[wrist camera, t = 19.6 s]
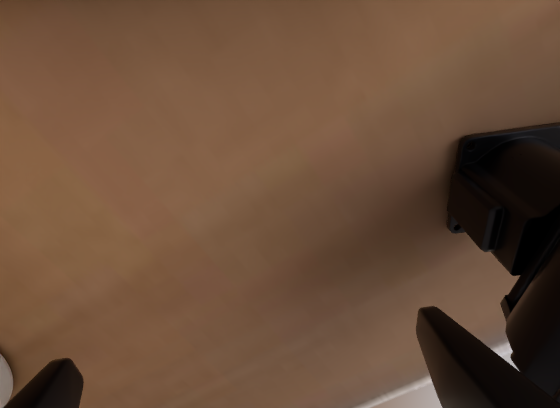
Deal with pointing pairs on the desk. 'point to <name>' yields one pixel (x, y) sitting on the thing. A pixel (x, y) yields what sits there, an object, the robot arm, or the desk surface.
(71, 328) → the desk surface
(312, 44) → the desk surface
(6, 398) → the cylinder vase
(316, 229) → the desk surface
